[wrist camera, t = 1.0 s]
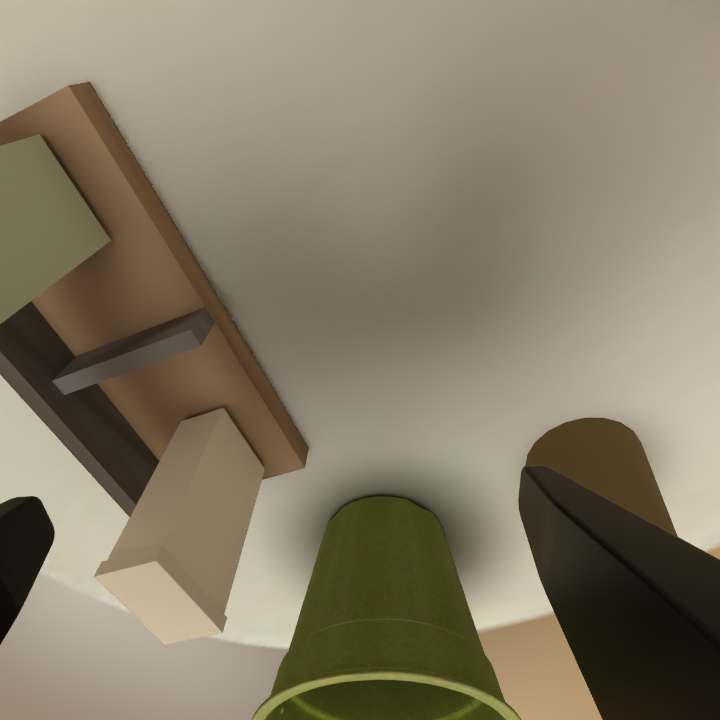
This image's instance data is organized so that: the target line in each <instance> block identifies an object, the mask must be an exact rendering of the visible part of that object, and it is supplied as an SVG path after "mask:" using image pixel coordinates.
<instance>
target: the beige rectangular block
mask: <svg viewBox="0 0 720 720" xmlns="http://www.w3.org/2000/svg"><path fill="white" fill-rule="evenodd" d="M264 470H265V469H264V467H263V466H262V464H261V463H260V461H259V460H258V458H257V457H256V455H255V454H254V452H253V451H252V449H251V448H250V446H249V445H248V443H247V442H246V441H245V439H244V438H243V436H242V435H241V433H240V432H239V430H238V429H237V427H236V426H235V424H234V423H233V421H232V420H231V418H230V417H229V415H228V414H227V412H226V411H225V409H224V408H221V409H218V410H215V411H212V412H209V413H206V414H203V415H199V416H196V417H193V418H190V419H187V420H184V421H181V422H180V424H179V426H178V428H177V430H176V432H175V433H174V435H173V437H172V439H171V441H170V443H169V445H168V447H167V449H166V450H165V452H164V454H163V456H162V458H161V460H160V462H159V464H158V465H157V467H156V469H155V471H154V473H153V475H152V477H151V479H150V481H149V482H148V484H147V486H146V488H145V490H144V492H143V494H142V496H141V498H140V499H139V501H138V503H137V505H136V507H135V509H134V511H133V513H132V514H131V516H130V518H129V520H128V522H127V524H126V526H125V528H124V530H123V531H122V533H121V535H120V537H119V539H118V541H117V543H116V545H115V547H114V548H113V550H112V552H111V554H110V556H109V558H108V560H107V561H103V562H101V564H100V566H99V568H98V570H97V572H96V573H95V575H94V577H95V578H96V579H97V580H98V581H99V582H100V583H101V584H102V585H103V586H104V587H105V588H106V589H107V590H108V591H109V592H110V593H111V594H112V595H113V596H114V597H116V598H117V599H118V600H119V601H120V602H121V603H122V604H123V605H124V606H125V607H126V608H127V609H128V610H129V611H130V612H131V613H132V614H133V615H134V616H135V617H136V618H137V619H138V620H140V621H141V622H142V623H143V624H144V625H145V626H146V627H147V628H148V629H149V630H150V631H151V632H152V633H153V634H154V635H155V636H156V637H157V638H158V639H159V640H160V641H161V642H162V643H164V644H170V643H175V642H180V641H185V640H190V639H194V638H199V637H204V636H209V635H214V634H219V633H223V630H224V626H225V623H226V619H227V617H226V616H225V615H224V612H225V609H226V605H227V602H228V598H229V595H230V591H231V588H232V584H233V580H234V577H235V573H236V570H237V566H238V563H239V559H240V555H241V552H242V548H243V545H244V541H245V538H246V534H247V531H248V527H249V523H250V520H251V516H252V513H253V509H254V506H255V502H256V499H257V495H258V491H259V488H260V484H261V481H262V477H263V474H264Z"/></svg>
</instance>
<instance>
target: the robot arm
mask: <svg viewBox="0 0 720 720" xmlns="http://www.w3.org/2000/svg"><path fill="white" fill-rule="evenodd" d="M518 503H519V511H520V515H521V519H522V522H523V525H524V529H525V532H526V535H527V538H528V542H529V545H530V548H531V551H532V555H533V558H534V561H535V565H536V568H537V571H538V574H539V577H540V580H541V583H542V585H543V587H544V590H545V592H546V595H547V597H548V599H549V601H550V604H551V606H552V608H553V610H554V612H555V615H556V617H557V619H558V621H559V624H560V625H561V628H562V630H563V632H564V635H565V637H566V639H567V641H568V644H569V646H570V648H571V650H572V652H573V655H574V657H575V659H576V661H577V664H578V666H579V668H580V670H581V672H582V675H583V677H584V679H585V681H586V684H587V686H588V688H589V690H590V693H591V695H592V697H593V699H594V701H595V704H596V706H597V708H598V710H599V712H600V715H601V717H602V719H603V720H720V560H719V559H718V558H716V557H714V556H712V555H710V554H708V553H706V552H705V551H703V550H701V549H699V548H697V547H695V546H694V545H692V544H690V543H688V542H686V541H684V540H683V539H681V538H679V537H677V536H675V535H673V534H671V533H670V532H668V531H666V530H664V529H662V528H660V527H659V526H657V525H655V524H653V523H651V522H649V521H647V520H646V519H644V518H642V517H640V516H638V515H636V514H635V513H633V512H631V511H629V510H627V509H625V508H623V507H622V506H620V505H618V504H616V503H614V502H612V501H611V500H609V499H607V498H605V497H603V496H601V495H600V494H598V493H596V492H594V491H592V490H590V489H588V488H587V487H585V486H583V485H581V484H579V483H577V482H576V481H574V480H572V479H570V478H568V477H566V476H564V475H563V474H561V473H559V472H557V471H555V470H553V469H552V468H550V467H548V466H545V465H531V466H525V467H523V469H522V471H521V479H520V489H519V499H518ZM54 534H55V532H54V527H53V524H52V522H51V520H50V518H49V516H48V514H47V512H46V510H45V508H44V506H43V504H42V502H41V500H40V499H39V498H37V497H35V496H29V497H16V498H13V499H10V500H8V501H6V502H3V503H1V504H0V644H1V643H2V641H3V639H4V638H5V636H6V634H7V633H8V631H9V629H10V628H11V626H12V624H13V623H14V621H15V619H16V618H17V616H18V614H19V612H20V610H21V608H22V606H23V604H24V602H25V601H26V598H27V596H28V594H29V592H30V590H31V588H32V586H33V584H34V582H35V579H36V577H37V575H38V573H39V571H40V569H41V567H42V565H43V563H44V561H45V559H46V556H47V554H48V552H49V550H50V548H51V546H52V544H53V541H54Z"/></svg>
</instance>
